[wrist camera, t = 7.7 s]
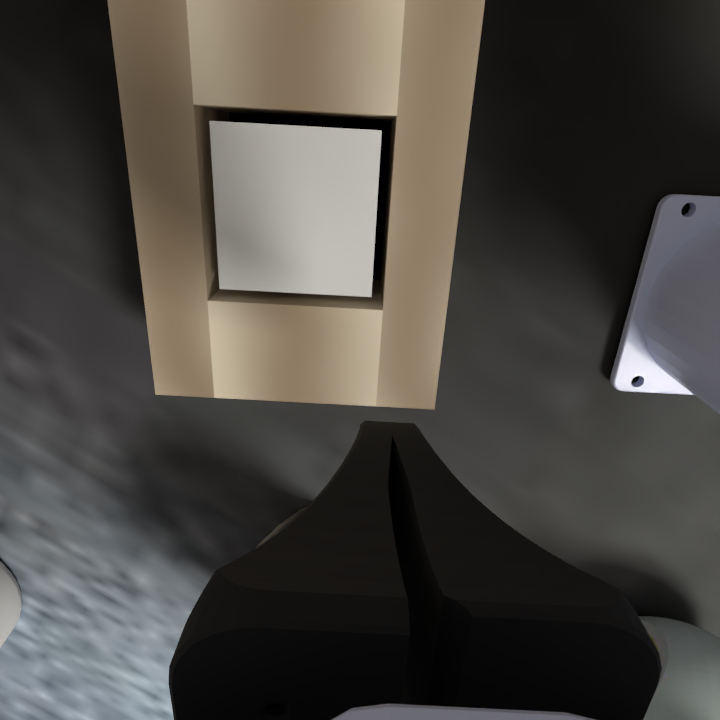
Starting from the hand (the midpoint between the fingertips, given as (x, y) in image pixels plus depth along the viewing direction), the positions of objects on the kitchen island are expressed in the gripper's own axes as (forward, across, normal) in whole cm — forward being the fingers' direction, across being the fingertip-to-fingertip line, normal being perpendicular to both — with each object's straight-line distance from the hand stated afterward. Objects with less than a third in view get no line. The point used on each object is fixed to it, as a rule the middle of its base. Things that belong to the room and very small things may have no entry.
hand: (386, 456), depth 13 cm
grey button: (+8, +3, -5) cm, 10 cm away
